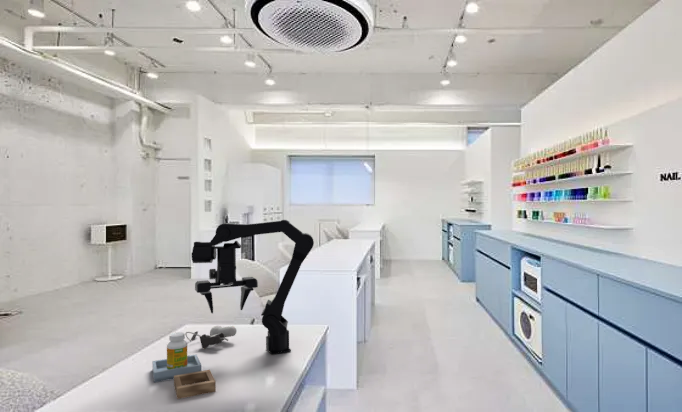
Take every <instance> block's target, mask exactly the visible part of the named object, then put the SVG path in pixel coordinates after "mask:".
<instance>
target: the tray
mask: <svg viewBox="0 0 682 412" xmlns="http://www.w3.org/2000/svg"><path fill="white" fill-rule="evenodd" d="M202 367H203V366H202V362H201V361H200V358H199V356H198V354H190V355H187V367H181V368H175V369H169V370H167V358H166V359H165V358H164V359H158V360H152V377H153V383H159V382H160V383H161V382H164V381H165V382H166V381H170V380H174V376H175V375H181V374H187V373H193V372H199V371H203V369H202Z"/></svg>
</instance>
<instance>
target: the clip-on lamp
mask: <svg viewBox="0 0 682 412" xmlns="http://www.w3.org/2000/svg"><path fill="white" fill-rule="evenodd" d="M198 333H199V330H197V331H194V332H192V331H186V332H185V333H184V334H185V338H186V339H187V340H188V341H189V342H193V341H195V339H196V337H199V341H200V345H201V348H202V349H203V350H204V349H207V348H208V347H209V346H214V345H217V344H221V343H222V341H226V342H228V341H229V339H228V338H230V337H231V338H232V337H235V336H236V334H237V328H236V327H235V326H234V325H232V326H231V325H229V326H223V327H222V326H221V325H215V326H213V327H211V329H210V331H209V334H206V333H205V334H202V335H201V334H198ZM187 334H191V335H192V337H191V339H190V338H189V336H188V335H187Z"/></svg>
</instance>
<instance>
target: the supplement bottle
mask: <svg viewBox="0 0 682 412" xmlns="http://www.w3.org/2000/svg"><path fill="white" fill-rule="evenodd" d="M185 338H186V335H185V333H184V332H180V331H179V332H174V333H173V332H172V333H170V334H169V336H168V339H169V342H167V344H166V359H167V370H169V369H175V368H181V367H187V356H188V342H187V340H185Z"/></svg>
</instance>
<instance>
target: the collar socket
mask: <svg viewBox="0 0 682 412" xmlns="http://www.w3.org/2000/svg"><path fill="white" fill-rule="evenodd" d="M216 383H217V382H216V379H215V377H214V375H213V373H212V372H211V370H210V369H205V370H202V371H199V372H193V373H187V374H181V375H175V376H174V379H173V387H174V391H175V395H176V399H177V400H179V399H184V398H191V397H197V396H200V395H206V394H211V393H216V392H217V388H216V387H217V386H216Z"/></svg>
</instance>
